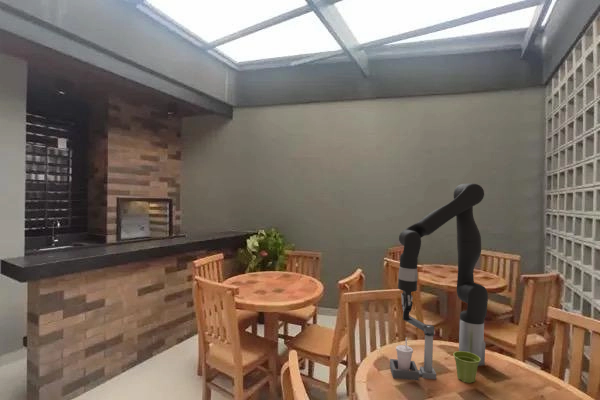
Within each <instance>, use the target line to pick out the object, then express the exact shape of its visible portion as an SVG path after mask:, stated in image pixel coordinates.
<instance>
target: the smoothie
mask: <svg viewBox="0 0 600 400" xmlns="http://www.w3.org/2000/svg"><path fill="white" fill-rule="evenodd" d="M395 351H396V355H397V356H396V357H397V358H396V359H398V368H397V369H400V370H411V369H410V363H411V361H412V356H413V353H414V349H413V348H412V347H411V346H409V345H408V337H405V344H399V345H396V347H395Z"/></svg>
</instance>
